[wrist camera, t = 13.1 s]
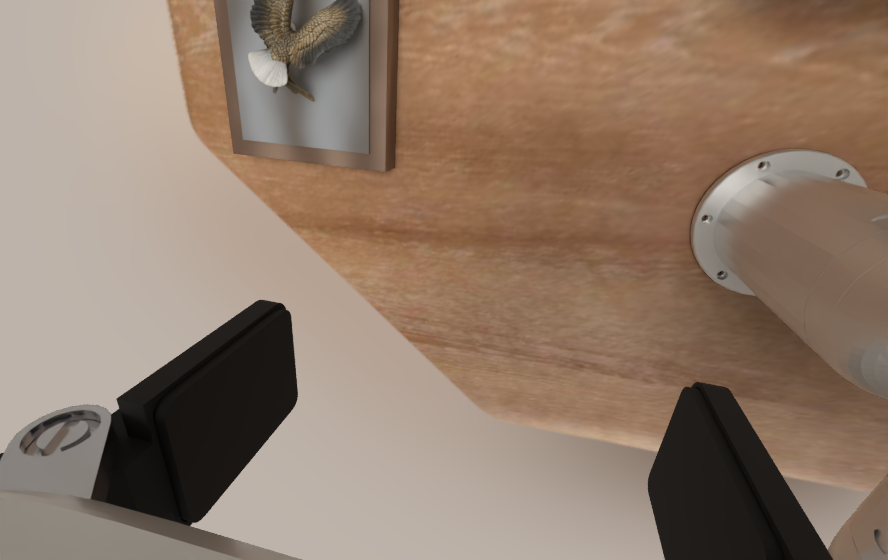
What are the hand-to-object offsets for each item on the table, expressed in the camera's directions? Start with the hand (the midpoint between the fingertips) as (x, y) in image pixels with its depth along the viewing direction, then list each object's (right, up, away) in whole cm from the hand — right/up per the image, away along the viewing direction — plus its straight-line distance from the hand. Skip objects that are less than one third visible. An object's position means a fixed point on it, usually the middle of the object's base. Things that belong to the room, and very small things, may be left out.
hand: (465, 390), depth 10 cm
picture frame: (-12, +23, +29) cm, 39 cm away
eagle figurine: (-15, +24, +24) cm, 37 cm away
